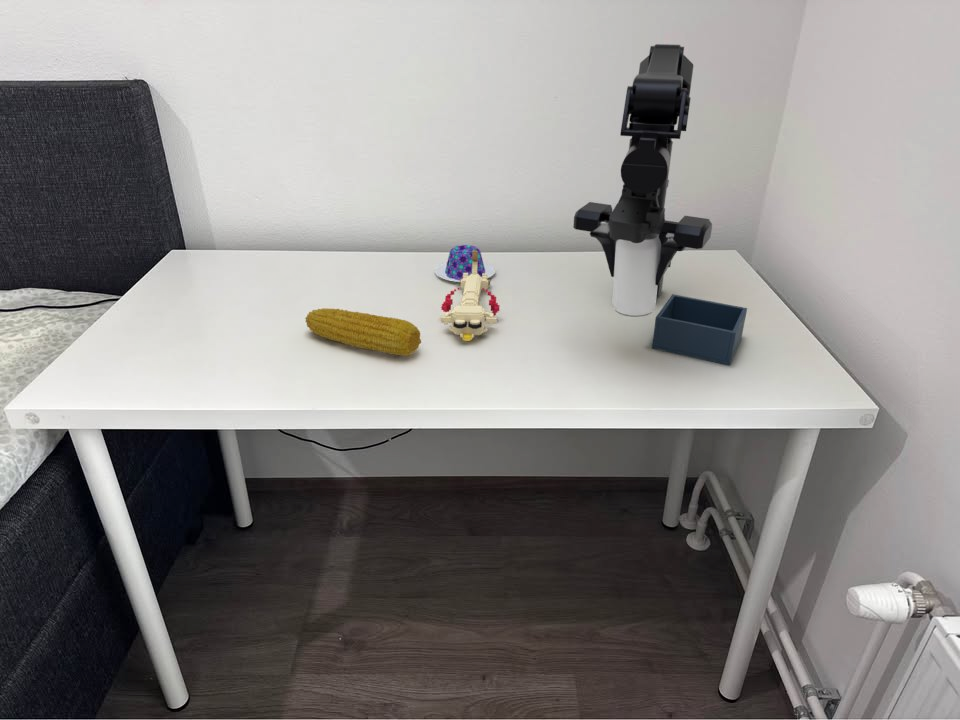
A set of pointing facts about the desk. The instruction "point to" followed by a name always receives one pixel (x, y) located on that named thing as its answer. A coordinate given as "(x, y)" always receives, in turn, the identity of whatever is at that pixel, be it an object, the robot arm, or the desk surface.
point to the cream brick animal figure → (470, 305)
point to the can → (636, 276)
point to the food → (365, 330)
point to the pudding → (462, 264)
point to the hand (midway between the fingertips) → (635, 280)
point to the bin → (699, 329)
